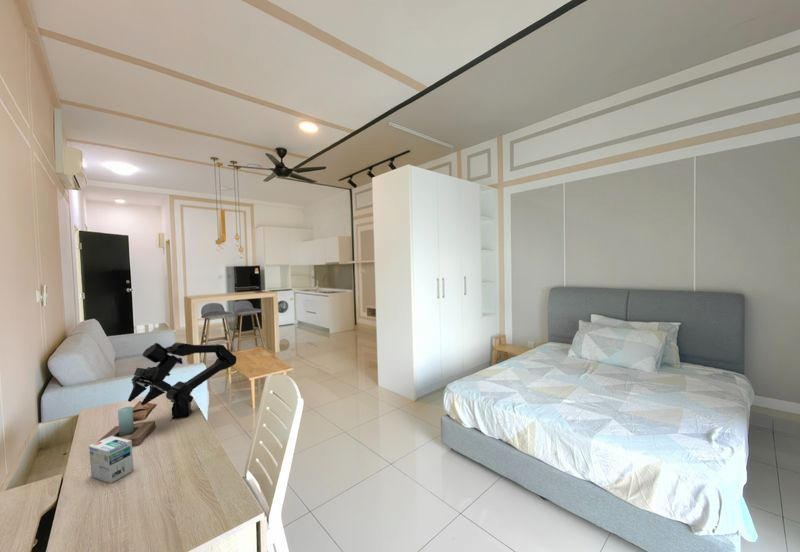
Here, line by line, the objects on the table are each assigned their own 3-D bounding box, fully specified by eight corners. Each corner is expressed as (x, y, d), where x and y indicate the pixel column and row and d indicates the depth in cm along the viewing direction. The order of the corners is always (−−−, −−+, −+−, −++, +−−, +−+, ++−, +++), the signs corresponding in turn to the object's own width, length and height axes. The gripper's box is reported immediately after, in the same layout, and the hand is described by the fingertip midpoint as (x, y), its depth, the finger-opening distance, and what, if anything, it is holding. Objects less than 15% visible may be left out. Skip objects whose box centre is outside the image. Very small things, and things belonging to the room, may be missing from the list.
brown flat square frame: (155, 427, 132) (155, 420, 132) (138, 445, 119) (138, 437, 119) (115, 433, 128) (115, 426, 128) (93, 452, 115) (93, 444, 115)
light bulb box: (134, 470, 104) (132, 439, 104) (110, 484, 98) (108, 451, 97) (114, 464, 108) (112, 434, 107) (89, 477, 101) (87, 445, 101)
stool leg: (137, 435, 125) (135, 407, 125) (125, 442, 121) (123, 412, 121) (128, 435, 126) (126, 406, 126) (116, 441, 122) (114, 411, 121)
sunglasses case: (146, 419, 139) (136, 408, 138) (130, 430, 137) (119, 419, 135) (158, 403, 156) (149, 393, 154) (143, 413, 153) (134, 403, 152)
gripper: (135, 356, 135) (104, 391, 125) (162, 361, 127) (131, 398, 117) (156, 369, 142) (128, 402, 132) (182, 374, 135) (155, 409, 125)
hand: (135, 403), depth 126 cm, fingers open, 9 cm apart
